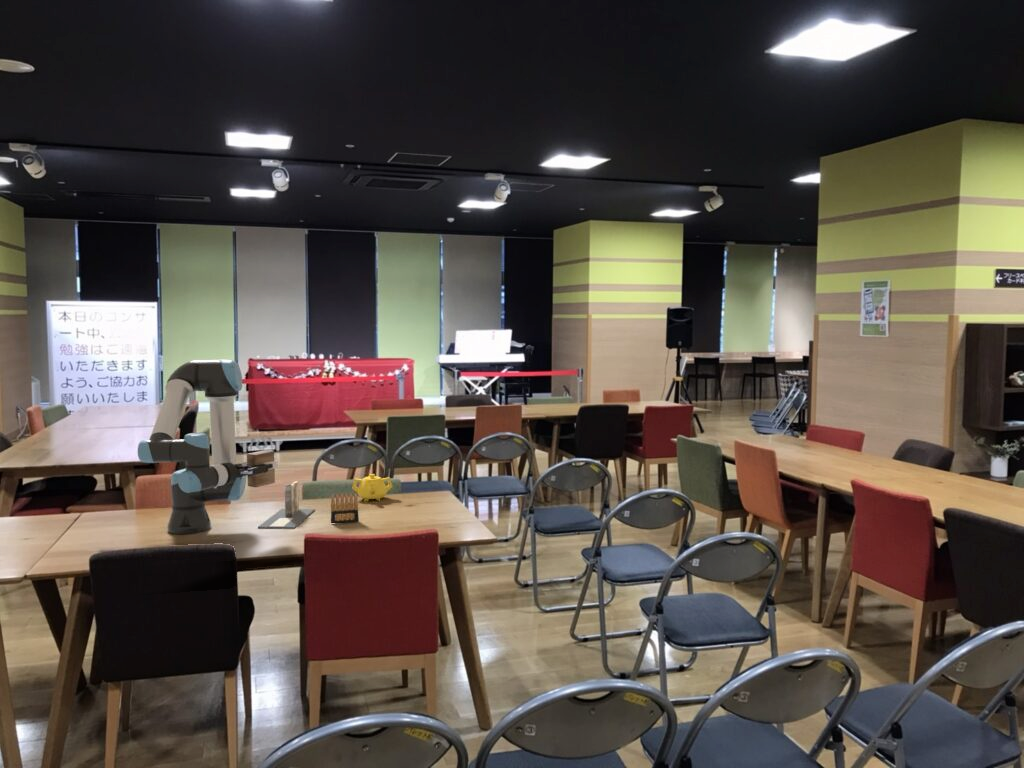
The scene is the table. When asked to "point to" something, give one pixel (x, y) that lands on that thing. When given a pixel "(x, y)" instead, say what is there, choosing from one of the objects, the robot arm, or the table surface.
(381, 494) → the teapot
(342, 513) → the ammunition clip
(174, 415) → the robot arm
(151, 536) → the table surface
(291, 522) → the mat
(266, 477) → the brown rectangular block
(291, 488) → the birch hinge leaf
